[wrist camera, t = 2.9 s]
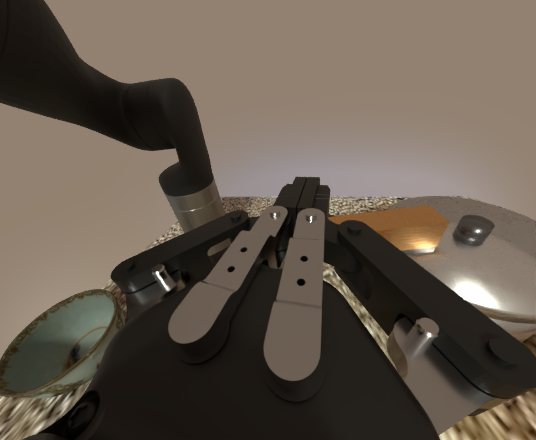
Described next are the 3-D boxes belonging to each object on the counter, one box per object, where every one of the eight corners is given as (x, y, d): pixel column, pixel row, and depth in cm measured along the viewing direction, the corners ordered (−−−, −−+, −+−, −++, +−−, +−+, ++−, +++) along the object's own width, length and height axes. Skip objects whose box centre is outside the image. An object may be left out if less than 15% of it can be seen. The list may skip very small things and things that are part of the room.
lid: (476, 198, 33) (497, 161, 29) (661, 312, 18) (753, 266, 14) (285, 221, 34) (282, 189, 30) (307, 346, 19) (306, 312, 15)
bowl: (82, 433, 25) (28, 420, 21) (24, 390, 30) (-31, 372, 25) (160, 325, 35) (136, 299, 30) (107, 305, 40) (80, 280, 35)
